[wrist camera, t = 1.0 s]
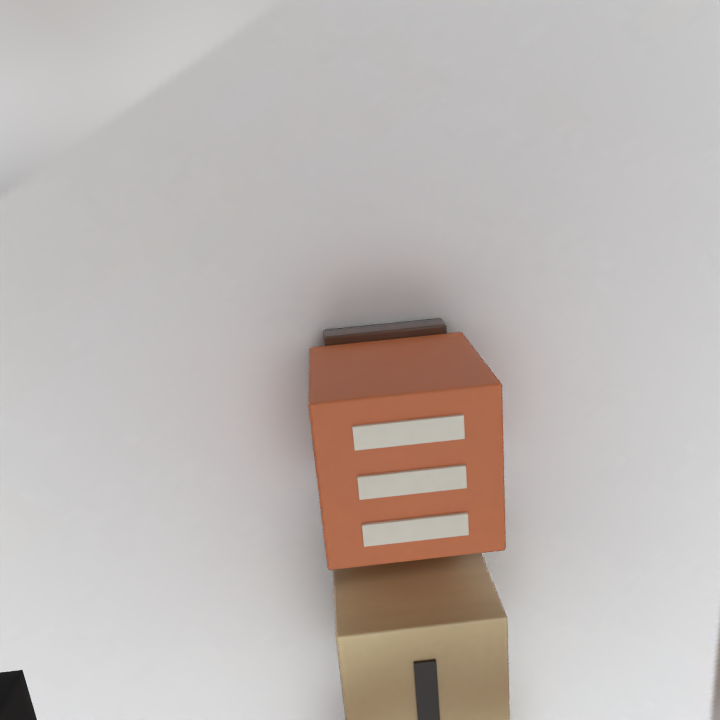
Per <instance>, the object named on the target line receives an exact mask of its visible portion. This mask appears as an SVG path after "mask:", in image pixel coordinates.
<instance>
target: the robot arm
mask: <svg viewBox="0 0 720 720" xmlns="http://www.w3.org/2000/svg"><path fill="white" fill-rule="evenodd" d="M0 720H37V719H36V715H35V712H34V708H33V705H32V701H31V698H30V695H29V691H28V688H27V684H26V681H25V677H24V674H23V670H18V671H10V672H1V673H0Z"/></svg>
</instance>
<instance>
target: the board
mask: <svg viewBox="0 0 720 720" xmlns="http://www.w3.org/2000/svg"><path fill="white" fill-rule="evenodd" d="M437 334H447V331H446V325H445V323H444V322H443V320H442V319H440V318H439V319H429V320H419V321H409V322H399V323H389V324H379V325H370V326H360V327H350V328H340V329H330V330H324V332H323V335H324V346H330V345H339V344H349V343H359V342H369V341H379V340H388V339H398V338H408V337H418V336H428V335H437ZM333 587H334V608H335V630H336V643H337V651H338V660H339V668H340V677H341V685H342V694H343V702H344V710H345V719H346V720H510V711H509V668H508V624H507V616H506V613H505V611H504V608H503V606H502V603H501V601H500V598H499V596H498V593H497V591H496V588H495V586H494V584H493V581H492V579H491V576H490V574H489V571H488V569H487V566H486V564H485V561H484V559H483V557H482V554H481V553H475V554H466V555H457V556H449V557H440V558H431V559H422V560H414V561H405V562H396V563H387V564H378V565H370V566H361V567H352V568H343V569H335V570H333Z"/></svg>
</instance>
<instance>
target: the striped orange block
mask: <svg viewBox="0 0 720 720" xmlns="http://www.w3.org/2000/svg"><path fill="white" fill-rule="evenodd" d="M308 407H309V415H310V423H311V432H312V440H313V449H314V457H315V466H316V474H317V483H318V491H319V499H320V508H321V516H322V525H323V533H324V542H325V550H326V558H327V567H328V569H329V570H335V569H343V568H352V567H361V566H370V565H378V564H387V563H396V562H405V561H414V560H422V559H431V558H440V557H449V556H457V555H466V554H475V553H484V552H493V551H501V550H505V547H506V541H505V497H504V453H503V410H502V385H501V383H500V381H499V380H498V379H497V378H496V376H495V375H494V374H493V372H492V371H491V370H490V368H489V367H488V366H487V365H486V363H485V362H484V361H483V359H482V358H481V357H480V355H479V354H478V353H477V352H476V350H475V349H474V348H473V346H472V345H471V344H470V342H469V341H468V340H467V339H466V337H465V336H464V335H463V333H461V332H457V333H447V334H437V335H428V336H418V337H408V338H398V339H388V340H379V341H369V342H359V343H349V344H339V345H330V346H320V347H311V348H310V349H309V399H308Z"/></svg>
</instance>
